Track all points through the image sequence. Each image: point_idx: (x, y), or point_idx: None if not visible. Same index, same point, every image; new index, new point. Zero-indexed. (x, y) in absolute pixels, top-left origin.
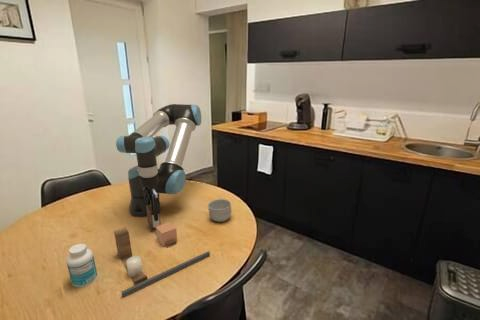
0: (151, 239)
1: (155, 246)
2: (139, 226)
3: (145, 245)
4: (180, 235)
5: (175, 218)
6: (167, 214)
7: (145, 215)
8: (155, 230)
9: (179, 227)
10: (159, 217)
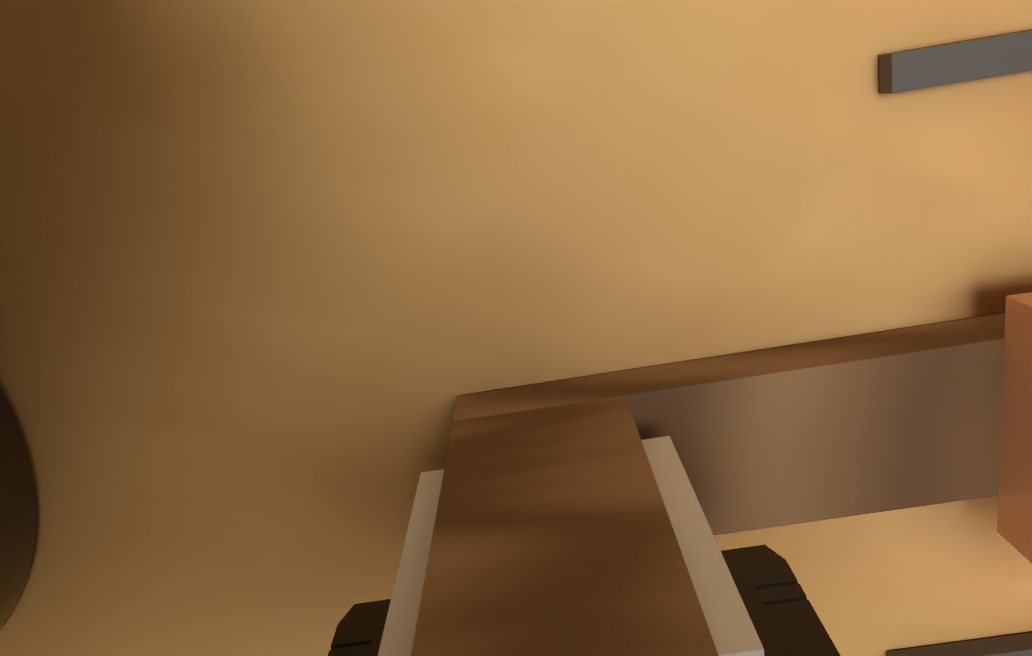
0: (814, 553)
1: None
2: None
3: (907, 643)
4: (1016, 111)
5: (341, 8)
6: (93, 123)
7: (24, 524)
8: (707, 500)
9: (740, 40)
10: (664, 507)
